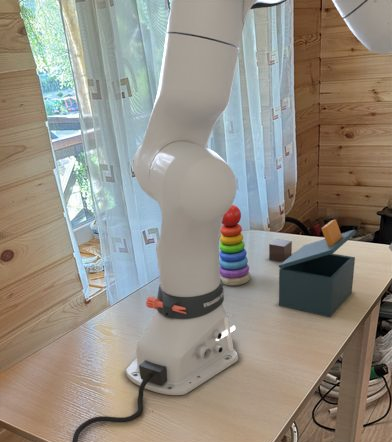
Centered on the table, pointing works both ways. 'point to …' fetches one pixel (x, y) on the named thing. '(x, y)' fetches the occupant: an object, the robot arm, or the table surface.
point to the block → (280, 250)
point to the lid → (320, 245)
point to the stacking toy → (233, 250)
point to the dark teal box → (317, 284)
